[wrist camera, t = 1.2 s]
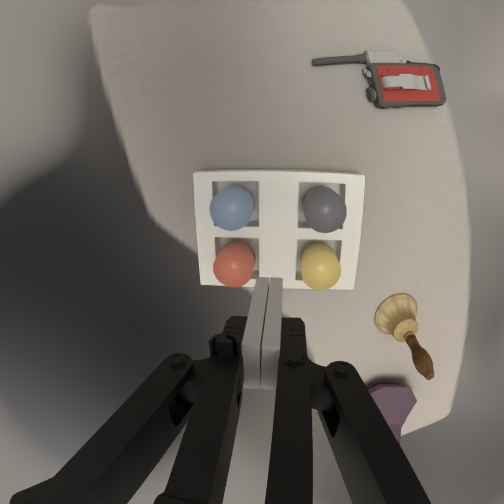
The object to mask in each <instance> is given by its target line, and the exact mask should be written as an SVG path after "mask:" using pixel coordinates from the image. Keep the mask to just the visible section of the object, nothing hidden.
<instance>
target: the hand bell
mask: <svg viewBox="0 0 504 504" xmlns="http://www.w3.org/2000/svg"><path fill="white" fill-rule="evenodd" d="M416 315H417V303H416V301H415V299H414V298H413V297H412V296H410V295H408V294H403V293H402V294H395V295H393V296H391V297H389V298H387V299H386V300H384V301H383V302H382V303H381V305H380V306H379V308H378V309H377V311H376V314H375V325H376V327H377V328H378V330H379V331H381V332H382V333H385V334H392V335H393V337H394V338H395V339H396V340H397V341H399V342H406V343H407V344H408V346H409V347H410V349H411V352H412V359H413V363H414V365H415V367H416V369H417V371H418V372H419V373H420V374H421V375H423V376H424V377H425V378H426V379H427V380H430V379H432V378H433V377H434V371H433V362H432V359H431V357H430V355H429V354H428V353H427V351H426V350H425V349H423V348H422V347H421V346H420V345H419V343H418V341H417V339H416V336H415V334H416V333H417V330H418V324H417V322H416V319H415V317H416Z"/></svg>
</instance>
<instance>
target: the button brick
mask: <svg viewBox="0 0 504 504" xmlns="http://www.w3.org/2000/svg"><path fill="white" fill-rule="evenodd" d="M255 261H256V256H255V252H254V250H253V249H252V247H251V246H250V245H249V244H247V243H245V242H243V241H238V240H234V241H230V242H228V243H226V244H225V245H224V246H223V247H222V249H221V251H220V252H219V254H218V256H217V257H216V259H215V261H214V264H213V272H214V275H215V277H216V278H217V280H218V281H219V282H220V283H222V284H223V285H225V286H228V287H241V286H243V285H245V284H246V283H247V282H248V281H249V280H250V278H251V276H252V273H253V269H254V265H255Z"/></svg>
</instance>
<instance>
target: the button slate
mask: <svg viewBox="0 0 504 504" xmlns="http://www.w3.org/2000/svg"><path fill="white" fill-rule="evenodd" d="M254 209H255V199H254V196H253V194H252V193H251V191H250V190H249V189H247V188H246V187H244V186H241V185H230V186H227V187H226V188H224V189H223V190H221V191H220V192H218V193H217V194H216V195H215V196H214V197H213V199H212V200H211V203H210V208H209V211H210V216H211V218H212V220H213V222H214V223H215V224H216V225H217V226H218V227H220V228H222V229H224V230H227V231H235V230H239V229H241V228H243V227H244V226H245V225H246V224H247V223H248V222H249V220H250V218H251V216H252V214H253V212H254Z"/></svg>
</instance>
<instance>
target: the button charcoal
mask: <svg viewBox="0 0 504 504" xmlns="http://www.w3.org/2000/svg"><path fill="white" fill-rule="evenodd" d="M302 209H303V213H304V216H305V219H306V222H307V223H308V225H309V226H310V227H311V228H312V229H313V230H315V231H317V232H320V233H330V232H333V231H336V230H337V229H339V228H340V227H341V226H342V224H343V223H344V221H345V219H346V215H347V208H346V204H345V202H344V200H343V199H342V198H341V197H340V196H339V195H338V194H337V193H336V192H335V191H334V190H332V189H331V188H328V187H325V186H318V187H314V188H312V189H311V190H309V191H308V192H307V193H306V195H305V196H304V198H303V202H302Z"/></svg>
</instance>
